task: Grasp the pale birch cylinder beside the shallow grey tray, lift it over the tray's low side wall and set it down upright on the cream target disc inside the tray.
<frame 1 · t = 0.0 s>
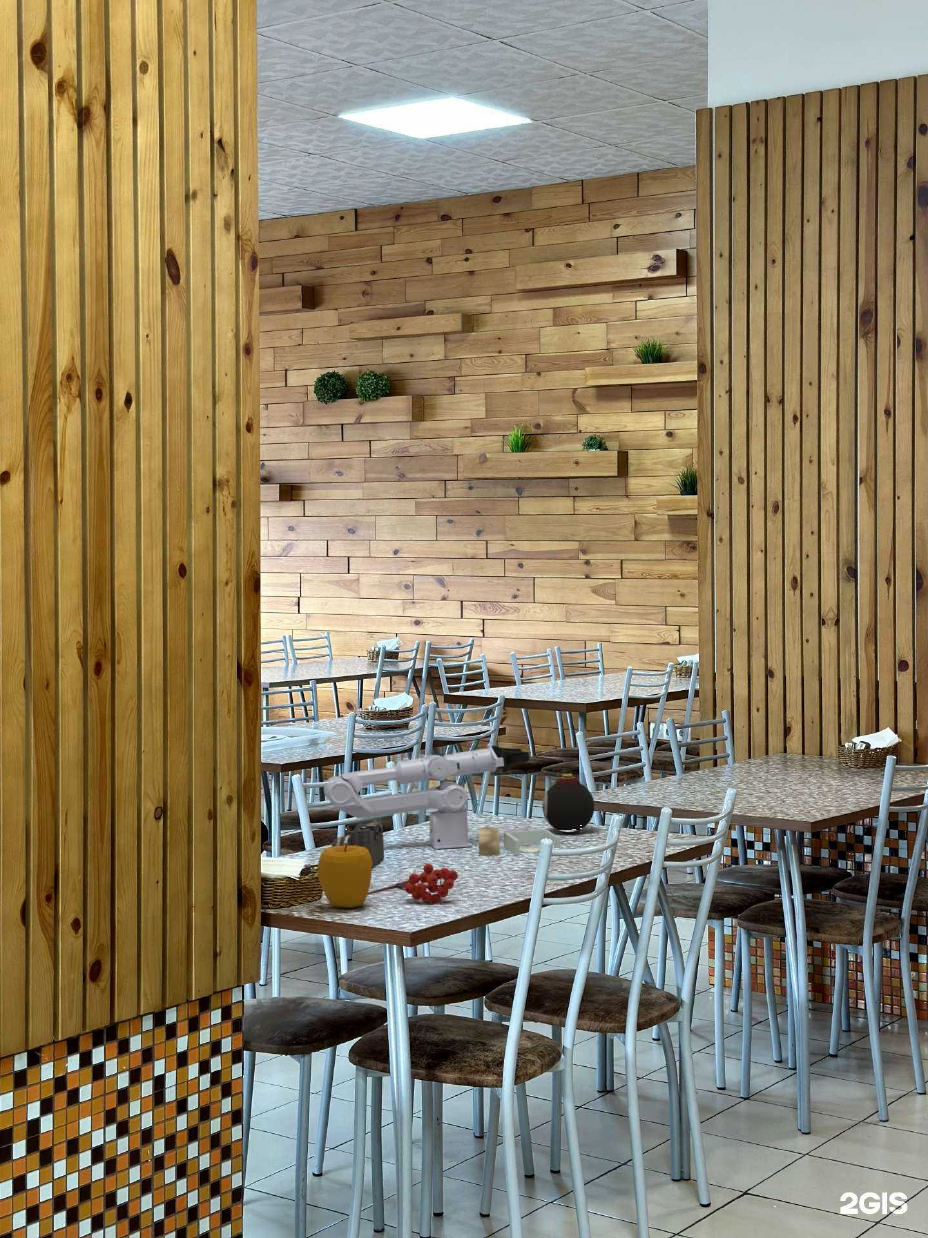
hand: (525, 754, 365), 22 cm above the table, tool horizontal, fingers open, 7 cm apart
decorative berry sprig: (419, 892, 310), on the table
birch cylinder: (489, 854, 349), on the table
camera: (358, 865, 340), on the table
apple: (346, 908, 295), on the table
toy: (569, 833, 375), on the table
shallow grey tray: (531, 849, 353), on the table
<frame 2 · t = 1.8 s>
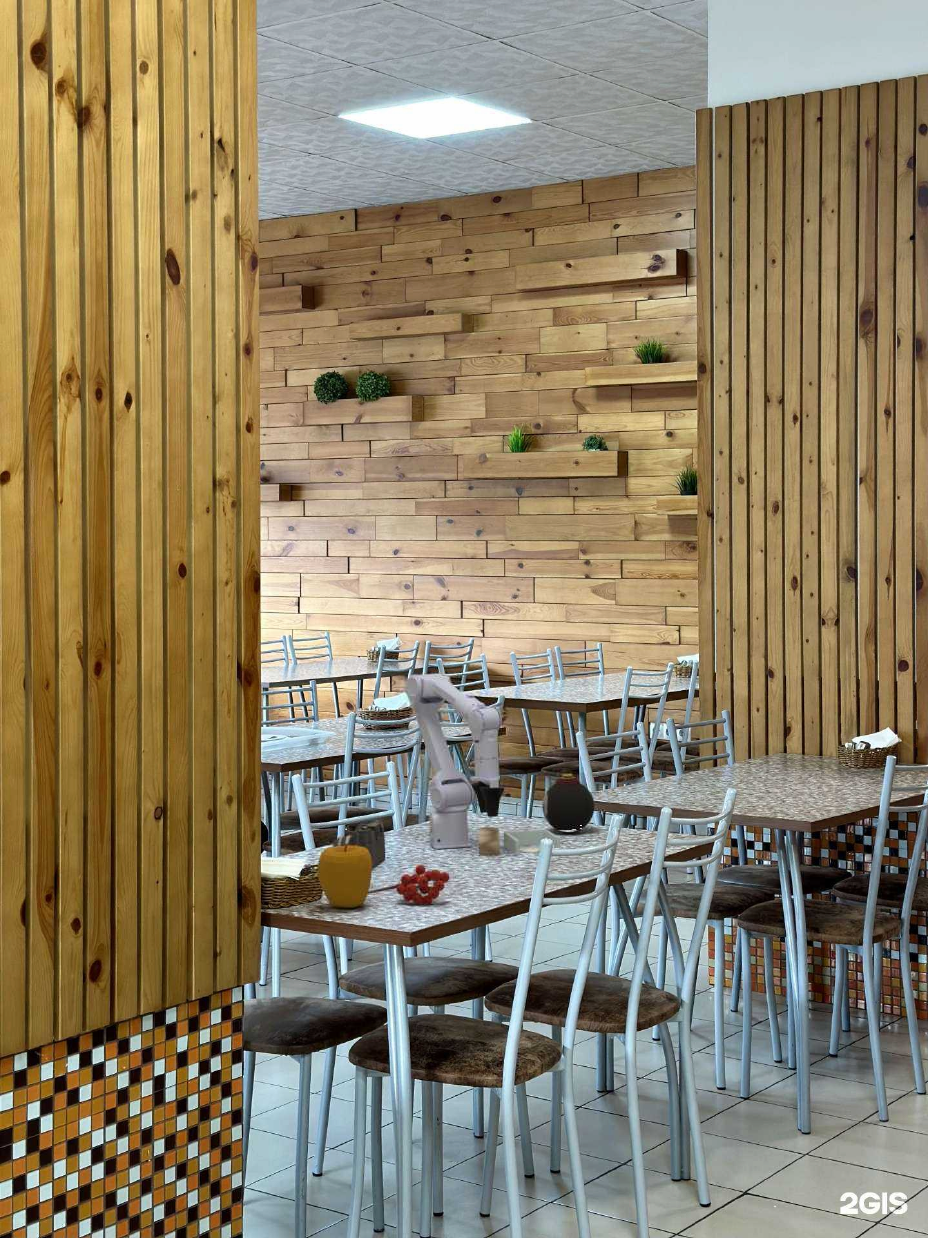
hand: (488, 814, 349), 9 cm above the table, tool pointing down, fingers open, 7 cm apart
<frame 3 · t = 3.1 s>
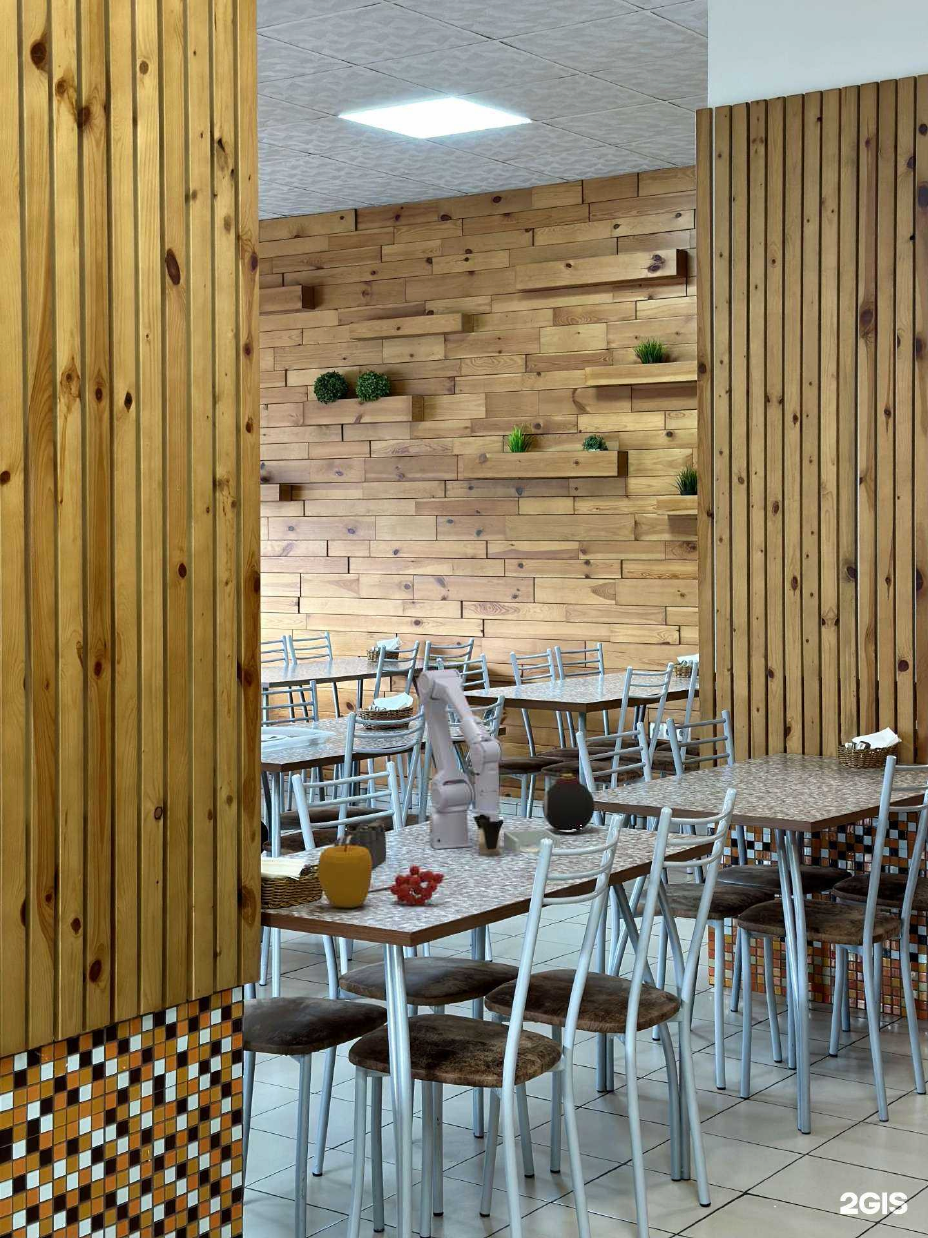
hand: (489, 847, 349), 2 cm above the table, tool pointing down, fingers closed on birch cylinder, 5 cm apart
birch cylinder: (489, 853, 349), on the table, touching gripper
when the fingers open (3 cm above the table, at t = 7.3 s): birch cylinder drops 2 cm, resting on shallow grey tray.
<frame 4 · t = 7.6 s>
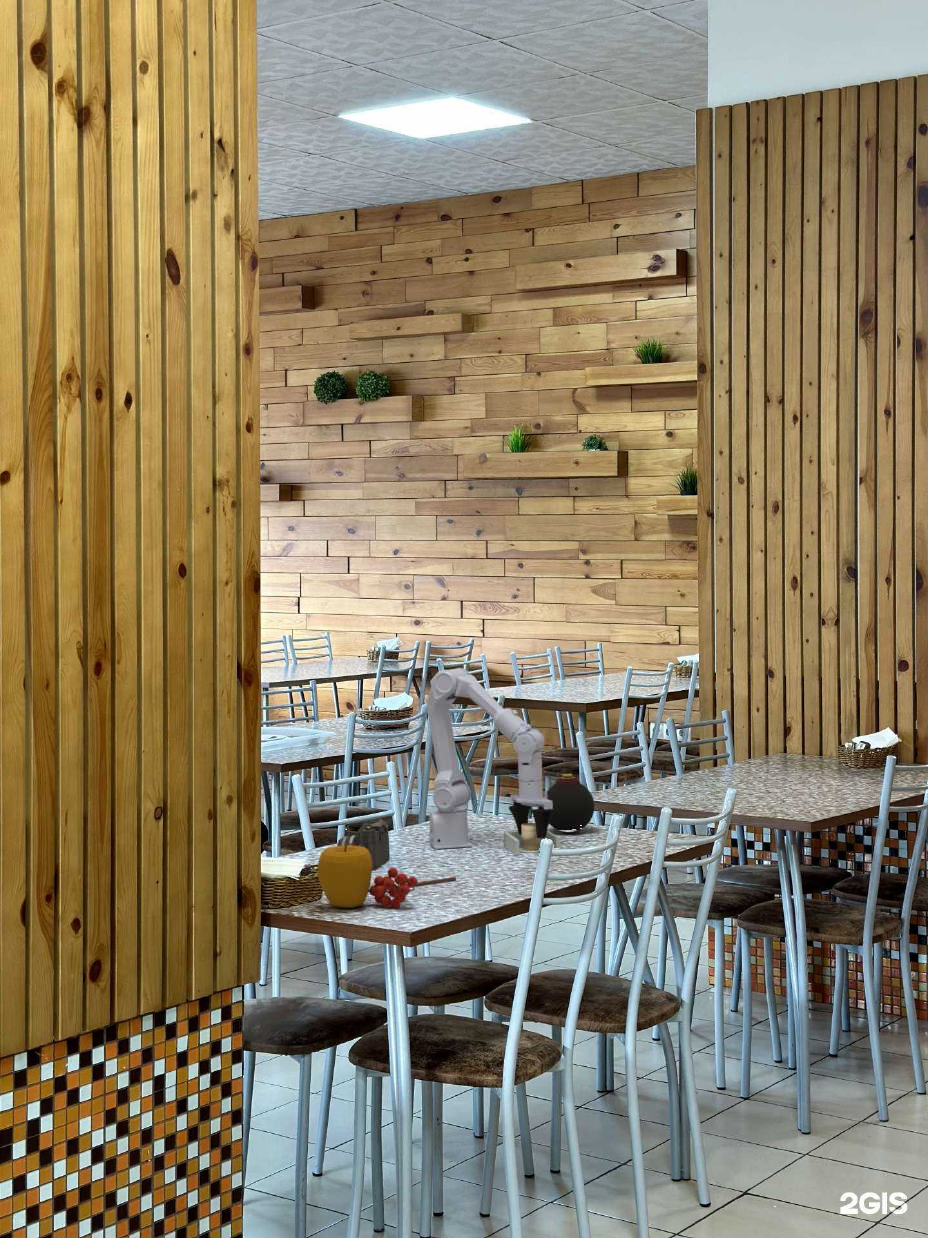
hand: (532, 836, 352), 3 cm above the table, tool pointing down, fingers open, 7 cm apart
decorative berry sprig: (412, 895, 306), on the table, touching apple
birch cylinder: (532, 849, 352), resting on shallow grey tray
apple: (346, 908, 295), on the table, touching decorative berry sprig
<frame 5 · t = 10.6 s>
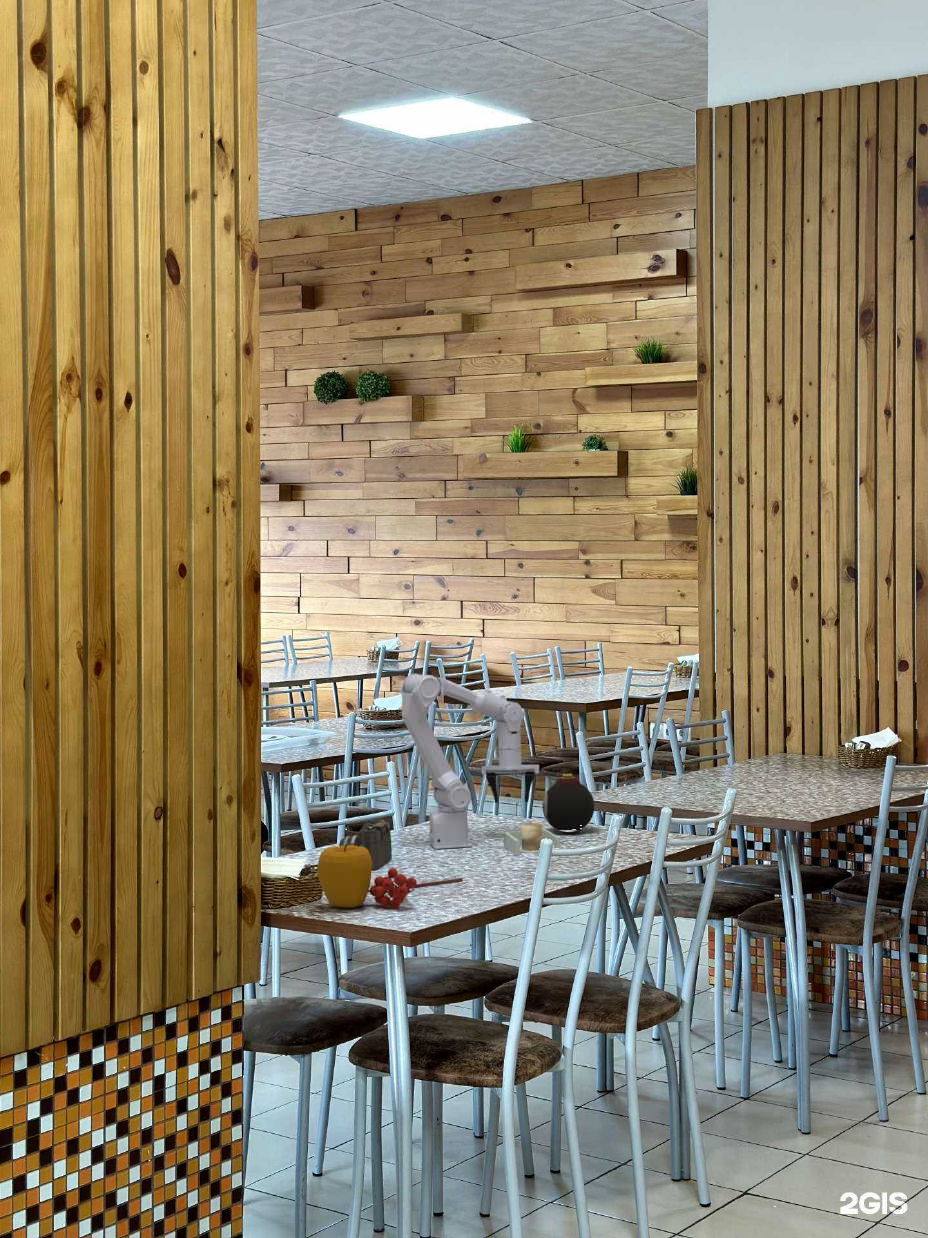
hand: (511, 802, 368), 9 cm above the table, tool pointing down, fingers open, 7 cm apart
decorative berry sprig: (416, 896, 306), on the table, touching apple
at the end: birch cylinder 0.1 cm from the target spot on the shallow grey tray, point 0.2 cm above the shallow grey tray's base; birch cylinder tilted 0°; the gripper is holding nothing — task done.
